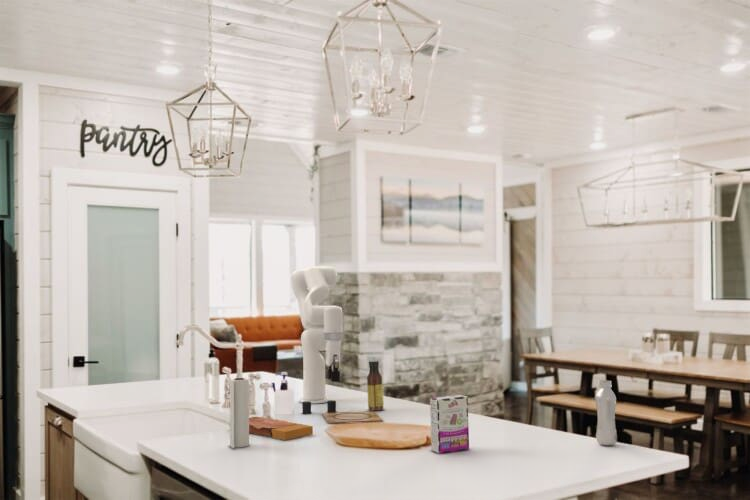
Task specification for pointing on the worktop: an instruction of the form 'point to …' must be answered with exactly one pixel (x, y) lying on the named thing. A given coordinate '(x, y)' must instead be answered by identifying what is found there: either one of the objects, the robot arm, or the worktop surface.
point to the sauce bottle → (374, 387)
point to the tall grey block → (239, 412)
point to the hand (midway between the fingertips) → (333, 380)
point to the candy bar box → (449, 423)
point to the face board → (352, 417)
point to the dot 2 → (331, 406)
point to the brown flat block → (278, 428)
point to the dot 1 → (306, 407)
